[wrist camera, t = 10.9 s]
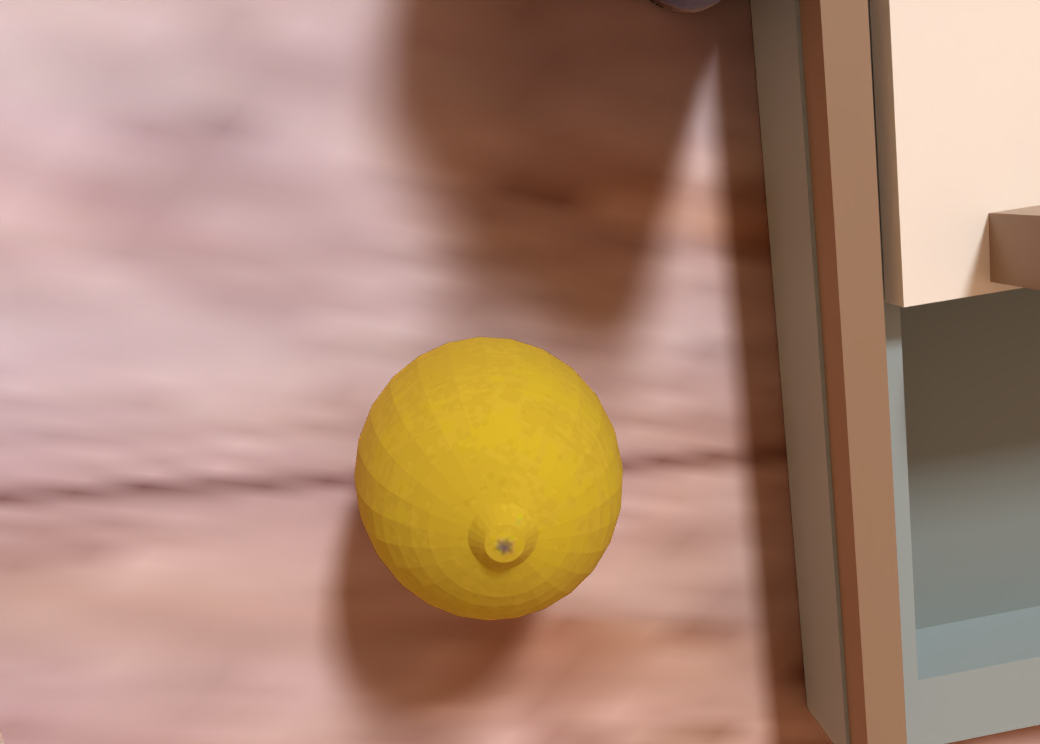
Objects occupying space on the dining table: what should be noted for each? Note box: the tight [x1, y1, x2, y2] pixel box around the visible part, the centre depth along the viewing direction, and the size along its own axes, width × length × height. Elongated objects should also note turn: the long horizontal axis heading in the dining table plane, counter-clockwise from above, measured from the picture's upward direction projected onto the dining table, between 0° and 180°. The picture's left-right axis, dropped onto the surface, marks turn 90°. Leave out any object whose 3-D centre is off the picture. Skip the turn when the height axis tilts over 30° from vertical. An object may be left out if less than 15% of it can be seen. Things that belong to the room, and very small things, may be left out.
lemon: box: [354, 337, 623, 620], centre depth 19 cm, size 6×6×8 cm
